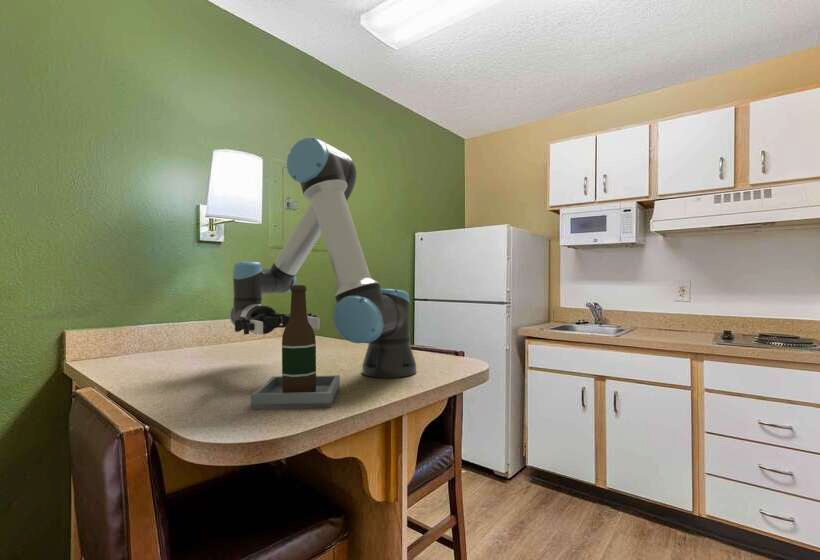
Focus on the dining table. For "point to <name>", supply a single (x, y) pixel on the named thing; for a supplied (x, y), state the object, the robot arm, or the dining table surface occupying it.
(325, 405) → the tray
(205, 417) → the dining table surface
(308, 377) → the beer bottle
